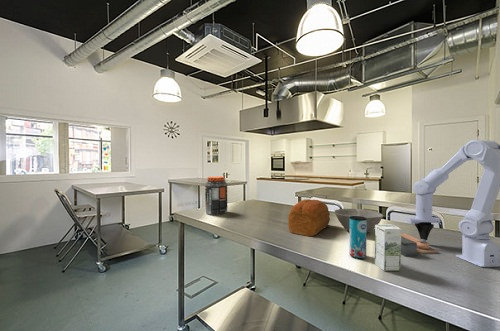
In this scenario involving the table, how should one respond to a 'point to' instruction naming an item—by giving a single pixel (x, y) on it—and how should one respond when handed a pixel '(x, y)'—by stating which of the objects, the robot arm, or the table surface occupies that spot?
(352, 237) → the beverage can
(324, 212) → the bread
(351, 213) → the ceramic bowl
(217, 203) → the supplement tub
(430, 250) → the pintle plate
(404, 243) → the panel
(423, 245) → the link
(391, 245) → the milk carton
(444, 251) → the table surface
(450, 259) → the table surface
